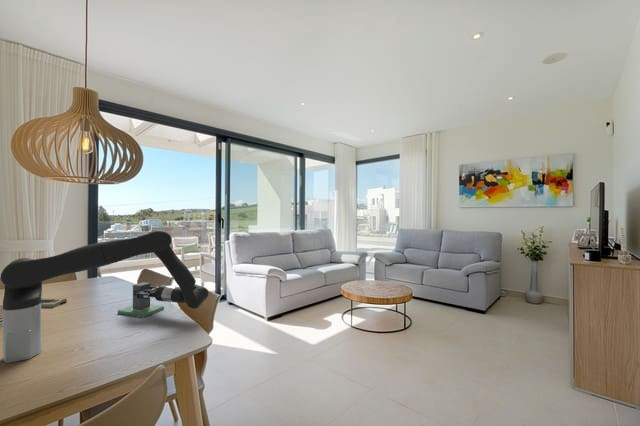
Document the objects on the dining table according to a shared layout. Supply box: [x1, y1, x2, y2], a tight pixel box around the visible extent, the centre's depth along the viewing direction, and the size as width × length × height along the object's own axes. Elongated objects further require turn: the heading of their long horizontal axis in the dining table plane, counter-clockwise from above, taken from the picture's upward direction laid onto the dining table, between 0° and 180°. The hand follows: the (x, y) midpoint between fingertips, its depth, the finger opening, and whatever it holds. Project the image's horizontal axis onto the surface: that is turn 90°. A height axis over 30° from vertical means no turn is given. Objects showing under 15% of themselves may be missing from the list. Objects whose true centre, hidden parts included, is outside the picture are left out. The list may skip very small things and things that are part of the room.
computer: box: [41, 297, 68, 308], centre depth 152 cm, size 16×8×3 cm, turn 92°
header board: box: [117, 303, 165, 318], centre depth 145 cm, size 16×12×6 cm
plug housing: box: [132, 281, 151, 310], centre depth 144 cm, size 5×6×12 cm
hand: (141, 290), depth 144 cm, fingers open, 8 cm apart
